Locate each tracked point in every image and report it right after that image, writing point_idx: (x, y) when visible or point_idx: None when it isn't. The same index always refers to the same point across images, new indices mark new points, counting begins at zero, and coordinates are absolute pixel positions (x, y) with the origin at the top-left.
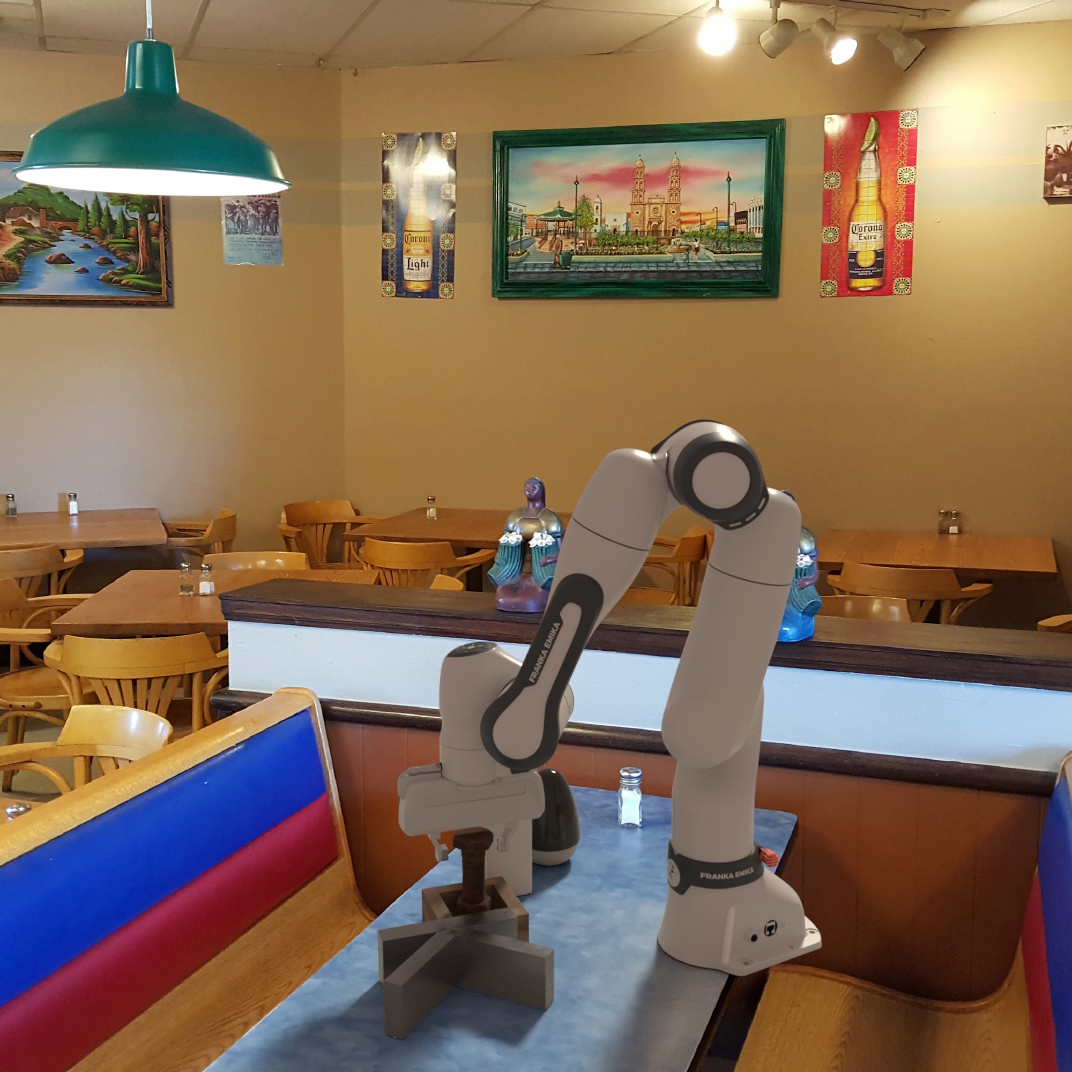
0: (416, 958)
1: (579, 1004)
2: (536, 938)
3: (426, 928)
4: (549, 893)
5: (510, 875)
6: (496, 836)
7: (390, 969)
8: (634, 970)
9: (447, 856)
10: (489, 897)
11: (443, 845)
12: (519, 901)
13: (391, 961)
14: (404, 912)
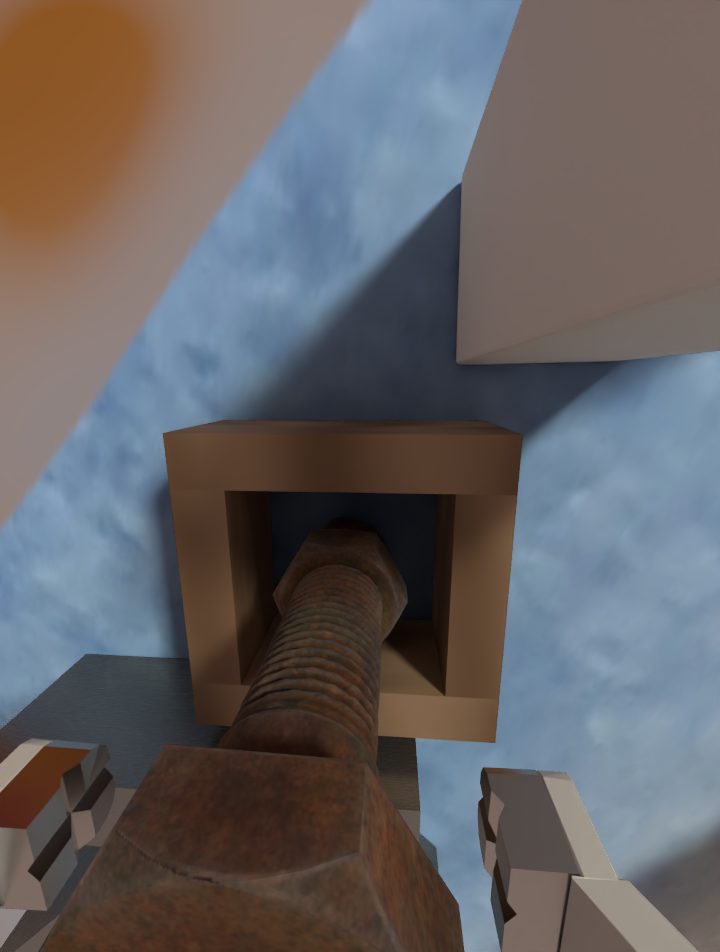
0: None
1: (480, 874)
2: (510, 620)
3: (104, 823)
4: (688, 374)
5: (581, 357)
6: (516, 871)
7: None
8: (667, 825)
9: (83, 842)
10: (398, 613)
11: (9, 845)
12: (500, 659)
13: None
14: (178, 339)
